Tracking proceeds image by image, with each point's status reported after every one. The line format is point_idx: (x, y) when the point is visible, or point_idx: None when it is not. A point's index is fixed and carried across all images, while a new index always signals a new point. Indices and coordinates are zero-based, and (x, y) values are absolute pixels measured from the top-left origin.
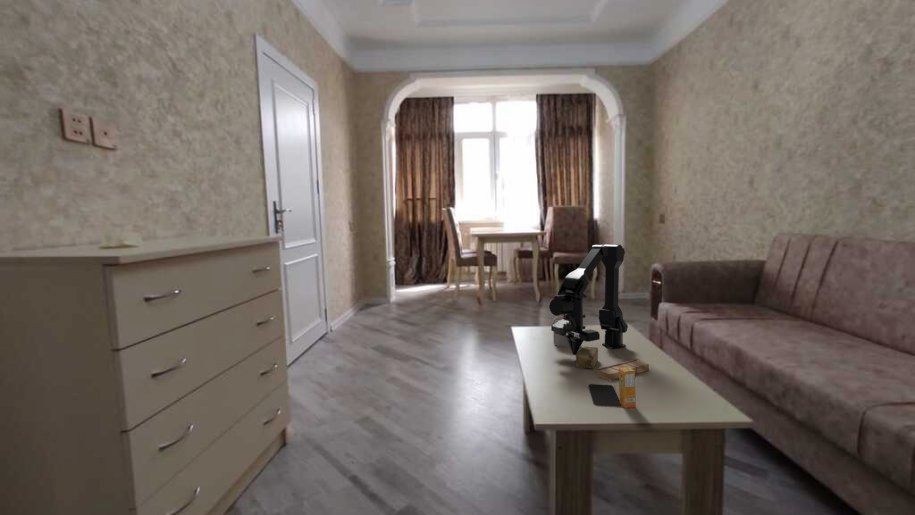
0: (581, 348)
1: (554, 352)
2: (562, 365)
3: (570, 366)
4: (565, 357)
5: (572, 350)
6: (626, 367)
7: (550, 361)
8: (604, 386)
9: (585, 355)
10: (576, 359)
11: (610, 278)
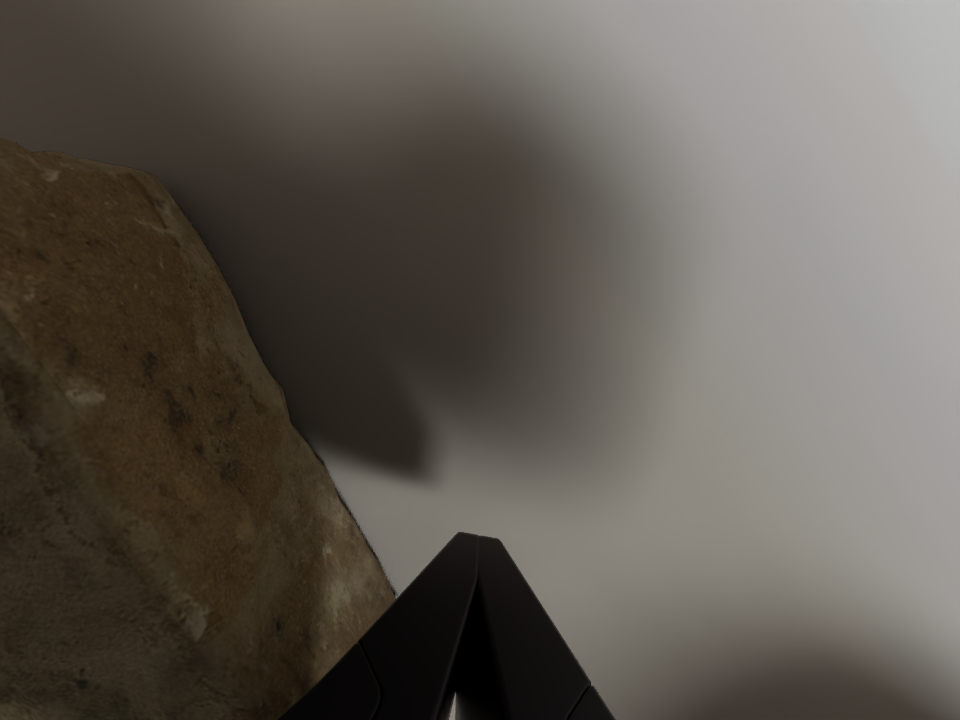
0: (225, 706)
1: (945, 567)
2: (401, 73)
3: (270, 145)
4: (642, 482)
5: (482, 581)
6: None
7: (719, 89)
8: None
9: None
10: (16, 148)
11: None
